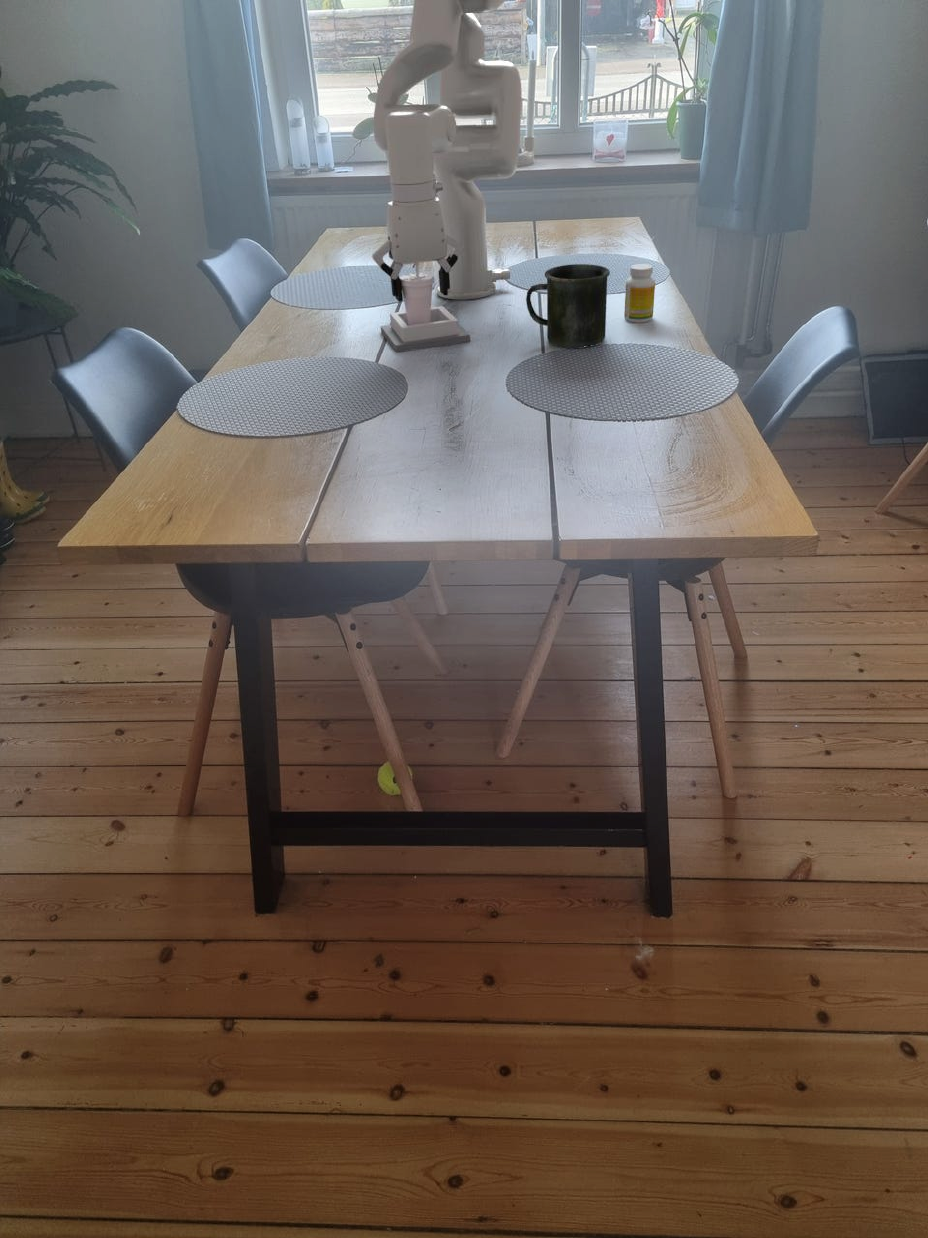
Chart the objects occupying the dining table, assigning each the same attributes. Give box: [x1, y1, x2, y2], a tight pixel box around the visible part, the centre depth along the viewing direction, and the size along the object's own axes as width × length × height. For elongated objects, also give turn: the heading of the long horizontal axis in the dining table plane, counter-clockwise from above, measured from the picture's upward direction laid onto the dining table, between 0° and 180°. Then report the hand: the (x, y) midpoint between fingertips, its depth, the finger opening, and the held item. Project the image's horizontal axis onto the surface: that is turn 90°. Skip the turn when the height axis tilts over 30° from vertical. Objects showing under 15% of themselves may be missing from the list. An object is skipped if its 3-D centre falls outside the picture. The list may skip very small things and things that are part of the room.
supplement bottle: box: [623, 263, 656, 324], centre depth 169 cm, size 5×5×10 cm
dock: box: [380, 305, 471, 353], centre depth 169 cm, size 14×13×4 cm
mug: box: [525, 263, 611, 349], centre depth 160 cm, size 11×15×12 cm
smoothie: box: [399, 263, 435, 325], centre depth 165 cm, size 6×6×14 cm
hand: (421, 296), depth 166 cm, fingers open, 8 cm apart
